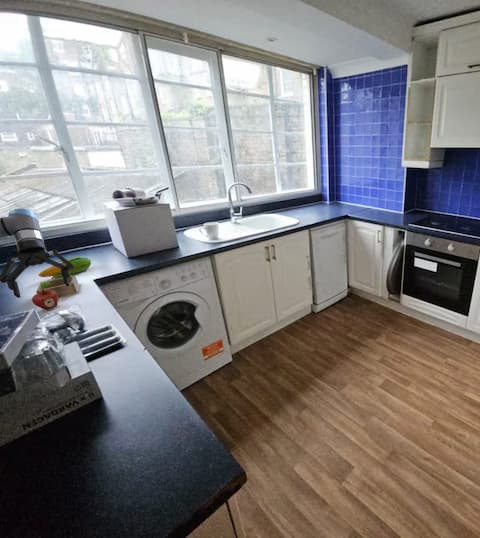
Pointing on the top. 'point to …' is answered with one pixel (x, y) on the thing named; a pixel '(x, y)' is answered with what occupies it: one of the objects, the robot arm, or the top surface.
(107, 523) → the top surface
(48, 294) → the apple
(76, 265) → the corn
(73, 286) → the wooden crate
